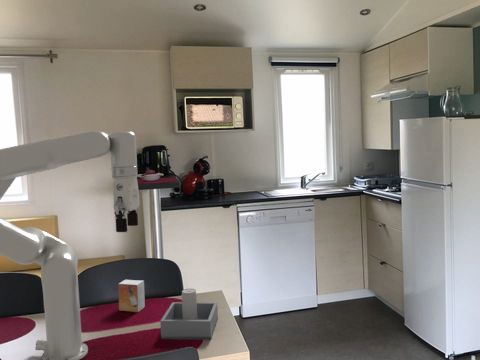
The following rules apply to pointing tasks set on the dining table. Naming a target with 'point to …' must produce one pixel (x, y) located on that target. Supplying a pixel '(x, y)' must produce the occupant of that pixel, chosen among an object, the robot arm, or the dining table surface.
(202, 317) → the box
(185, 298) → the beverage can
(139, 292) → the small box
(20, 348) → the dining table surface
